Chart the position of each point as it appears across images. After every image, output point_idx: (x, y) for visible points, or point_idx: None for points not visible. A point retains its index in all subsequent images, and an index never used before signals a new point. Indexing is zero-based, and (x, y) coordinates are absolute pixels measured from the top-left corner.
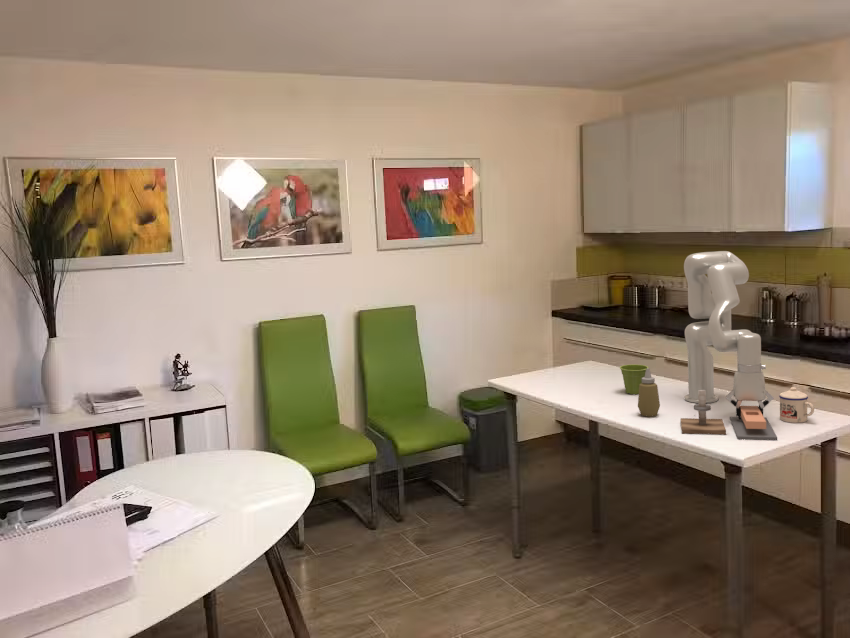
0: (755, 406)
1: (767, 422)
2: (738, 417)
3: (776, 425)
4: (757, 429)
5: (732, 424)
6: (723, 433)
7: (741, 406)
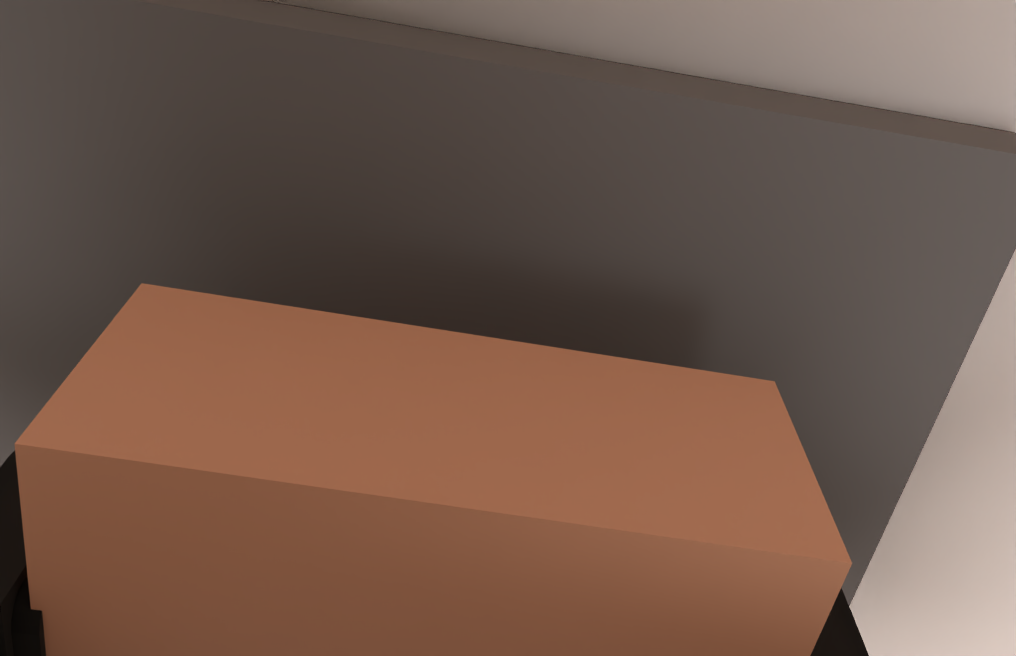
0: (715, 625)
1: None
2: None
3: (978, 574)
4: None
5: None
6: None
7: (108, 565)
